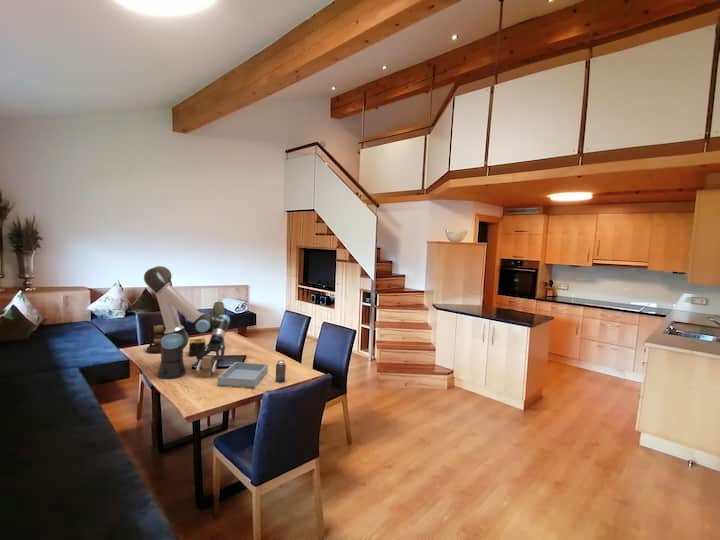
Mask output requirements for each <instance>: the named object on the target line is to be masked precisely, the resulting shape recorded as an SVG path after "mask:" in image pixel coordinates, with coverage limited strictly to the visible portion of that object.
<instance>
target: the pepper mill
mask: <svg viewBox="0 0 720 540" xmlns="http://www.w3.org/2000/svg"><path fill="white" fill-rule="evenodd" d="M286 365H287V364H286V362H285V360H283V359H280V360H277V362H276V364H275V383H277V382H278V384H279V383H280V384H282V382H283V383H285V382H286V369H287V368H286Z"/></svg>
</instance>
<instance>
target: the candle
mask: <svg viewBox="0 0 720 540" xmlns="http://www.w3.org/2000/svg"><path fill="white" fill-rule="evenodd" d="M203 344H205V345H206V339H205V338H189V349H188V356H189V358H193V357H197V355H198V353H199V352H200V350H201V349H202V347H203ZM205 351H206V350H205ZM205 351H204V352H205Z"/></svg>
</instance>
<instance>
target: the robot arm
mask: <svg viewBox="0 0 720 540" xmlns="http://www.w3.org/2000/svg"><path fill="white" fill-rule="evenodd" d="M171 272H172V271H170V269H169V268H167V267H166V266H158V265H157V266H154V267H151V268H149V269H147V270H146V271H145V273H144V274H143V275H144V276H143V280H144V284H146V286H147V287H148V288H149V289H151V291H153V292H154V293H155V295H156V299H157V302H158V306H159V310H160V312H161V313H160V314H161V316H162V320H163V325H164V324H165V328H166V330H164V331H163V332H164V334H163V336H164V337H163V338H162V340H161V352H160V364H159V367H158V369H157V377H158V378H159V379H162V380H163V379H164V380H169V379H170V380H171V379H178V378H181V377H183V376H185V375H186V373H187V369H186V368H187V367H186V365H185V363H184V349H185V348H186V346H187V345H188V343H189V342H190V338H189V334H188V333H187V331H186V329H185V326H184V325H182V324H181V321H180V317H179V314H178V312H179V313H180V314H181V315H182V316H183V317H185V319H187V320H188V321H189V322H190V323H191V324H192V325H193V326H194V327H195V330H196V331H197V332H198V333H205V332H208V331H209V329H210V328H212V329H213V328H214V331H213V330H212V333H211V336H210V340H209V343H207V344H206V343H205V344H203V347H202V349H201V350H200V352H199V353H198V355H197V356H195V358H196V360H197V362H196V363H197V364H196V365H197V366H196V370H195V371H197V372H200V370H201V369H202V357H204V356H205V355H209V354H210V353H211V352H214V353H215V357H216V360H215V359H214V366H213V369H212V371H213V373H216V370H217V368H218V367H219V365H220V362H222V363H223V362H224V361H225V360H224V359H225V358H224V357H225V351H226V348H227V347H226V346H225V344H224V345H223V346H222V342H223V339H224V340H225V336H226V333H227V332H228V331H227V330H228V327H229V325H230V322H231V317H230V316H229V315H228V314H227V315H225V314H224V315H220V316H219V317H216V316H213V314H212V315H210V313H205V312H200V311H199V310H198V309H197V308H196V307H195V306H194V305H193V304H192V303H190V302H189V301H188V300H187V299H186V298H185V297H184V296H183V295H182V294H181V293H180V292H179V291H177V290H176V288H175V287H173V286H174V285H173V282H172V275H173V274H172V273H171ZM220 348H221V350H219V349H220ZM204 351H205V352H204ZM219 351H220V352H219Z"/></svg>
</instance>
